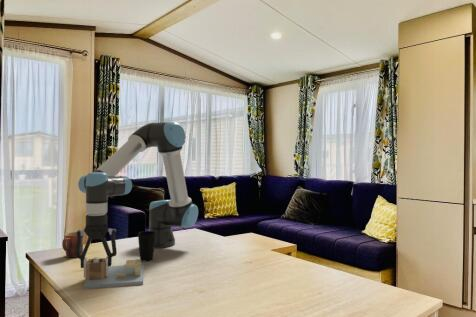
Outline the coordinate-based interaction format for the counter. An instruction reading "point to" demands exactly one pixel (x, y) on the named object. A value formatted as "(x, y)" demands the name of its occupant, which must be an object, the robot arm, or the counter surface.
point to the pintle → (96, 260)
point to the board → (112, 278)
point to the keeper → (132, 264)
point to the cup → (146, 245)
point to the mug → (71, 244)
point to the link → (96, 269)
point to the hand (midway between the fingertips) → (96, 275)
